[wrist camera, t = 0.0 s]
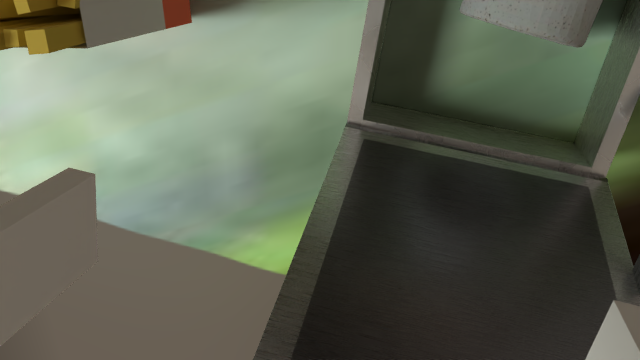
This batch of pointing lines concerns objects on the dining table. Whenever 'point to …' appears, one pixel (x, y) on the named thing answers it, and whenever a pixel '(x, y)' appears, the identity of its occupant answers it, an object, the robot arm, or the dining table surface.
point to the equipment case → (461, 231)
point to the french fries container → (84, 22)
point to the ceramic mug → (539, 17)
